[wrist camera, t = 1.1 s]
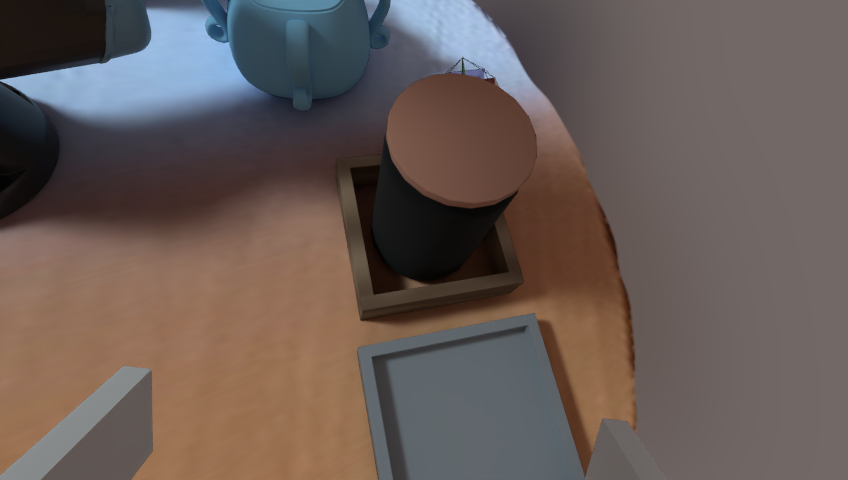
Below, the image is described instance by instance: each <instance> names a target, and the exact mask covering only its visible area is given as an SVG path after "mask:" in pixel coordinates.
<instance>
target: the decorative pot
mask: <svg viewBox="0 0 848 480" xmlns="http://www.w3.org/2000/svg"><path fill="white" fill-rule="evenodd" d="M201 1H202V2H203V4H204V5H205V7H206V8H207V10H208V11H209V12H210V14H211V15H212V16H210V17H208V19H207V20H206V23H205V27H206V31H207V33H208V35H209V36H210V37H211V38H212V39H214V40H216V41H219V42H222V43H227V42H229V44H230V48H231V51H232V55H233V58H234V60H235V63H236V65H237V67H238V69H239V70H240V72H241V73H242V75H243V76H244V77H245V78H246V80H247V81H248V82H249V83H251V84H252V85H253V86H255V87H256V88H258V89H260V90H262V91H264V92H266V93H268V94H271V95H274V96H279V97H285V98H293V107H294V108H296V109H298V110H301V111H305V110H308V109H309V108H310V107H311V104H312V99H319V98H329V97H334V96H337V95H340V94H342V93H344V92H346V91H348V90H349V89H350V88H352V87H353V86H354V85H355V84H356V83H357V82H358V81H359V80H360V78H361V76H362V75H363V73H364V71H365V68H366V65H367V63H368V59H369V54H370V47H371V48H373V49H380V48H383V47H385V46H386V45H387V44H388V42H389V40H390V32H389V30H388V28H387V27H386V26H384V25H381V24H382V23H383V21H384V19H385V17H386V15H387V13H388V10H389V7H390V1H391V0H380V1H379V4H378V6H377V8H376V10H375V12H374V14H373V16H372V18H371V19H370V21H369V20H368V14H367V9H366V6H365V2H364V0H228V7H227V13H226V12H225V10H224V9H223V8H222V6H221V5H220V4H219V2H218V1H217V0H201ZM216 25H220V27H218V26H216Z"/></svg>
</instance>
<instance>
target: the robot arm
mask: <svg viewBox="0 0 848 480" xmlns="http://www.w3.org/2000/svg"><path fill="white" fill-rule="evenodd" d="M150 40H151V27H150V23H149V19H148V15H147V11H146V8H145V4H144V1H143V0H0V80H1V79H7V78H13V77H19V76H25V75H31V74H37V73H43V72H49V71H54V70H60V69H66V68H72V67H78V66H84V65H90V64H96V63H101V64H102V63H106V62H108V61H109V60H110V59H113V58H117V57H121V56H125V55H129V54H133V53H137V52H140V51H142V50H143V49H145V48H146V47H147V46H148V44H149V42H150ZM58 153H59V141H58V135H57V132H56V130H55V127H54V125H53V123H52V122H51V120H50V119H49V118H48V117H47V115H46V114H45V113H44V112H43V111H42V110H41V109H40V108H39V107H38V106H37V105H36V104H35V103H34V102H33V101H32V100H31V99H30V98H29V97H28V96H26V95H25V94H24V93H22V92H21V91H19V90H17V89H16V88H14V87H12V86H10V85H8V84H5V83H3V82H0V218H2V217H4V216H6V215H8V214H10V213H12V212H14V211H15V210H17V209H18V208H20V207H21V206H23V205H24V204H25V203H27V202H28V201H29V200H30V199H31V198H33V197H34V196H35V195H36V194H37V193H38V192H39V191H40V190H41V188H42V187H43V186H44V185H45V183H46V182H47V181H48V179H49V177H50V176H51V174H52V172H53V170H54V168H55V165H56V162H57V158H58ZM152 451H153V433H152V369H146V368H137V367H128V366H123V367H122V368H121V369H119V370H118V371H117V372H116V373H115V374H114V375H113V376H112V377H110V378H109V379H108V380H107V381H106V382H105V383H104V384H103V385H101V386H100V387H99V388H98V389H97V390H96V391H95V392H94V393H92V394H91V395H90V396H89V397H88V398H87V399H86V400H84V401H83V402H82V403H81V404H80V405H79V406H78V407H77V408H75V409H74V410H73V411H72V412H71V413H70V414H69V415H68V416H66V417H65V418H64V419H63V420H62V421H61V422H60V423H59V424H57V425H56V426H55V427H54V428H53V429H52V430H51V431H50V432H48V433H47V434H46V435H45V436H44V437H43V438H42V439H41V440H39V441H38V442H37V443H36V444H35V445H34V446H33V447H32V448H30V449H29V450H28V451H27V452H26V453H25V454H24V455H22V456H21V457H20V458H19V459H18V460H17V461H16V462H15V463H13V464H12V465H11V466H10V467H9V468H8V469H7V470H6V471H4V472H3V473H2V474H1V475H0V480H131V479H132V478H133V476H134V475H135V474H136V472H137V471H138V470H139V468H140V467H141V466H142V464H143V463H144V462H145V460H146V459H147V458H148V457H149V455H150V454H151V453H152ZM585 480H668V479H667V478H666V476H665V475H664V474H663V472H662V471H661V469H660V468H659V466H658V465H657V463H656V462H655V461H654V459H653V458H652V456H651V455H650V454H649V452H648V451H647V449H646V448H645V446H644V445H643V444H642V442H641V441H640V439H639V438H638V436H637V435H636V433H635V432H634V431H633V429H632V428H631V426H630V425H629V423H628V422H627V421H622V420H613V419H603V418H602V421H601V425H600V428H599V431H598V435H597V438H596V442H595V445H594V449H593V452H592V456H591V459H590V462H589V466H588V469H587V473H586V476H585Z"/></svg>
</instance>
